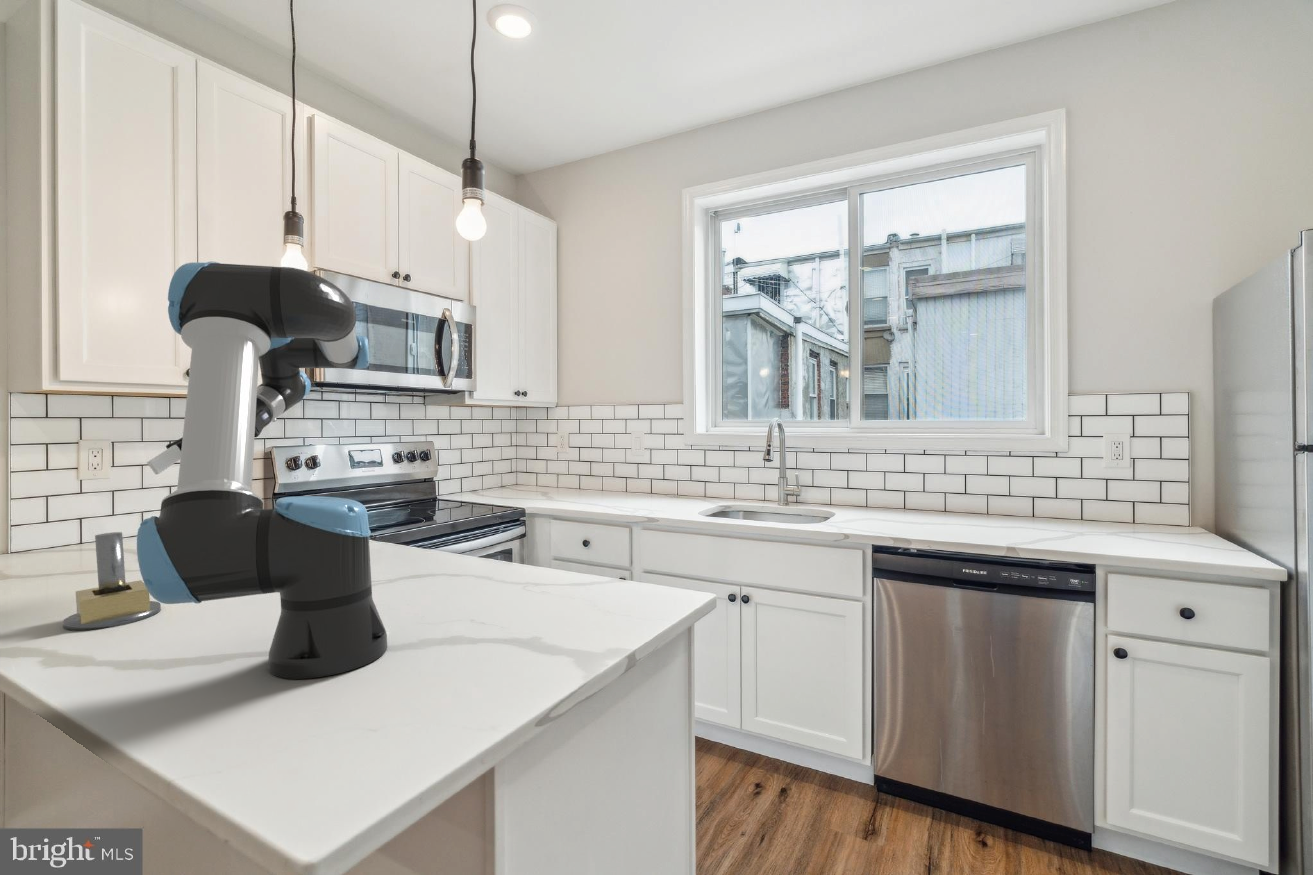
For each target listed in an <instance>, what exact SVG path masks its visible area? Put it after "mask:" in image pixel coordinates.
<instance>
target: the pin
mask: <svg viewBox="0 0 1313 875" xmlns="http://www.w3.org/2000/svg"><path fill="white" fill-rule="evenodd" d="M94 541H95V554H96V568H97V570H96V571H97V584H98V587H99V595H103V594H109V593H115V592H120V591H126V583H127V582H126V568H125V557H124V556H125V554H124V552H125V551H124V541H123V532H121V531H118V532H117V531H116V532H114V531H113V532H105V533H100V534H95V535H94Z"/></svg>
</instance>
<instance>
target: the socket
mask: <svg viewBox="0 0 1313 875" xmlns="http://www.w3.org/2000/svg"><path fill="white" fill-rule="evenodd" d="M75 603H76V613H74V614H72V615H70V616H66V617H65V618H64V619H63V620H62V621H63V622H62V624H63V625H62V626H63V629H64V630H67V631H76V632H79V631H80V632H83V631H92V630H95V631H96V630H103V629H109V628H115V627H120V626H123V625H127V624H129V625H130V624H132V623H136V622H140V621H143V620H146V619H149V618H151V617H153V616H155V615H157V614H158V613H160V612H161V611H162V607H161V606H162V605H161V604H162V603H161V602H159V601H154V600H150V593H149V592H148V590H147V588H146V586H145V584H144V581H143V580H135V581H130V582H129V581H127V582H126V591H120V592H115V593H109V594H103V595H99V586H98V587H94V588H85V589H82V590H75Z"/></svg>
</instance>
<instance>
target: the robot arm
mask: <svg viewBox="0 0 1313 875" xmlns="http://www.w3.org/2000/svg"><path fill="white" fill-rule="evenodd" d="M167 293H168V294H167V301H168V302H169V303H168V306H167V312H168V313H167V314H168V319H169V322H170V324H171V327H172V328H173V330H174V332H175V333H176V334H178V335H180V336H181V340H182V342H183V343H184V344H185V345H186V346H187V347H188V348H190V349H191V354H190V365H189V371H188V372H189V374H188V382H187V383H188V384H187V391H186V392H187V393H186V402H185V411H184V423H183V429H182V430H183V431H182V437H181V438H179V439H177V440H175V441H173V442H171V443H168V444H166V445H165V448H166V449H165V450H164V451H162V452H161V453H159V454H158V455H156V456H155V457H153V458H151V459H150V460H149V461H147V462H146V463H147V465H148V466H149V468H150V469H151V470H152V472H153V473H154V474H155V475H159V474H161V473H163V472H164V471H165V470H167V469H169V467H172V466H173V465H174V464H176V463H177V462H178V461H179V470H178V478H177V480H178V481H177V488H176V490H174V491H173V492H171V493H169V494H168V495H166V496H165V497H164V498H163V499H162V501H161V504H160V510H159V511H160V512H159V516H156V515H155V516H153V515H151V516H150V517H148V518H145V519H143V520H142V521H141V523H140V524H139V526H140V527H138V529H137V533H136V554H137V562H138V568H139V571H140V576H141V578H142V582H143V583H144V584H145V586H146V588H147V590H148V592H149V596H151V597H152V598H153V599H154V600H156V602H159V603H160V604H164V605H176V604H185V603H186V604H190V603H193V604H201V603H202V602H207V601H215V600H224V599H232V598H240V597H249V596H255V595H257V596H258V595H266V594H274V593H278V594H279V597H280V598H279V599H280V614H279V617H278V622H277V625H276V628H275V632H274V635H273V638H272V641H271V645H270V647H269V651H268V671H269V672H270V674H271V675H273V676H275V677H279V678H282V679H291V680H292V679H294V680H301V679H303V680H304V679H314V678H315V679H316V678H322V677H328V676H329V677H330V676H333V675H337V674H342V673H346V672H348V671H353V670H355V669H358V668H361V667H364V666H367V665H368V664H370V663H372V662H374V661H376V660H377V659H379V658H380V657H382V656H383V655H384V654H385V653H386V652H387V650H388V634H387V630H386V628H385V625H384V623H383V621H382V618H381V615H380V614H379V611H378V609H377V605H376V604H375V602H374V600H373V589H372V588H373V587H372V571H371V570H372V569H371V568H372V567H371V550H370V536H371V535H372V534H371V533H372V532H371V529H370V524H369V517H368V516H369V515H368V509H367V508H366V507H365V505H364V504H363V503H361V502H359V501H358V500H354V499H349V498H345V497H344V498H343V497H336V496H335V497H332V496H316V495H315V496H313V495H312V496H310V495H306V496H302V495H301V496H285V497H280V498H278V499H277V500H276V501H275V504H274V505H273V508H268V509H264V500H263V499H262V498H261V496H259V495H258V494H257V493H255V492H254V491H252V485H253V483H252V482H253V470H254V467H253V466H254V452H255V449H254V448H255V438H257V437H259V436H260V435H261V433H262V431H263V429H264V428H266V427H267V426H269V424H270V423H273V422H274V423H276V422H277V418H278V417H280V416H281V415H283V414H284V413H285V412H286V411H288V410H290V408H292V407H294V406H295V405H297V404H299V403H300V402H302V400H303V399H304V398H305V397H306V396H307V395H308V394H309V393H310V391H311V387H312V383H311V380H310V379H309V378H308V374H306V372H304V371H303V370H301V369H351V370H355V369H365V368H366V369H367V368H368V367H369V365H370V350H369V349H370V347H369V340H368V337H366V336H364V335H356V332H355V329H354V328H355V327H356V322H357V313H356V309H355V306H354V304H353V302H352V300H351V298H350V297H349V296H348V295H347V294H346V293H345V292H344V291H343V290H342V289H340V287H338V286H337V285H335V284H334V283H333V282H331V281H329V280H327V279H326V278H324V277H323V276H320V275H317V274H315V273H313V272H310V271H307V270H304V269H301V268H296V267H290V266H274V265H273V266H271V265H269V266H268V265H255V264H254V265H252V264H236V263H220V262H217V261H207V262H187V263H184V264H182V265H180V266H179V267H178V268H177V269H176V270H175V272H174V273H173V276H172V278H171V280H170V282H169V285H168V292H167ZM259 368H260V375H261V384H259V385H258V381H259V378H258V377H259Z"/></svg>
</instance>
